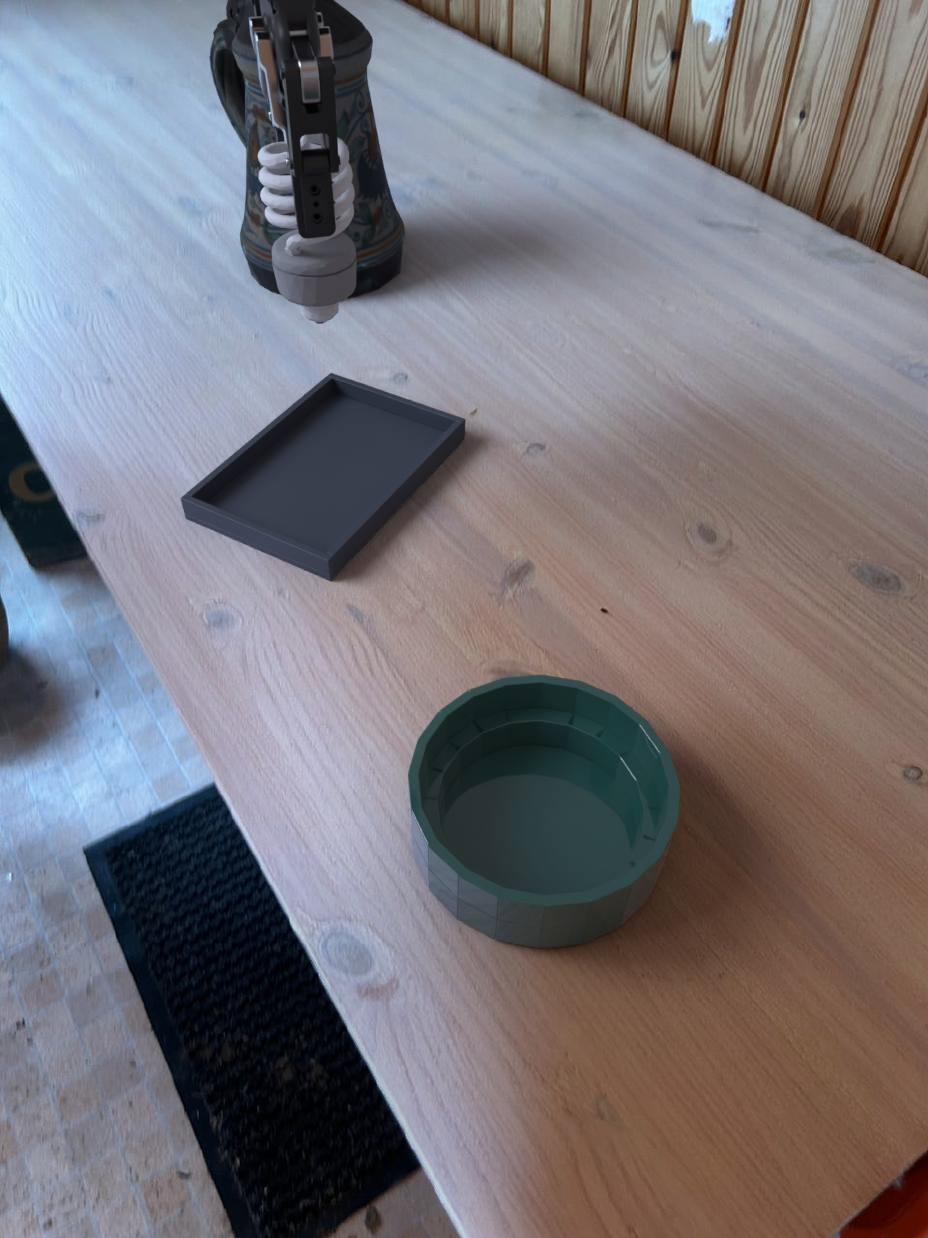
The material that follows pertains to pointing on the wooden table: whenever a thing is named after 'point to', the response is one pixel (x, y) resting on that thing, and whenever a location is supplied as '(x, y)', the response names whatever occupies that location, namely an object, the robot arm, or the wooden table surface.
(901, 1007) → the wooden table surface
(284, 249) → the light bulb
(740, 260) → the wooden table surface
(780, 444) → the wooden table surface
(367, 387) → the tray
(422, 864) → the bowl
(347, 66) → the beer stein
